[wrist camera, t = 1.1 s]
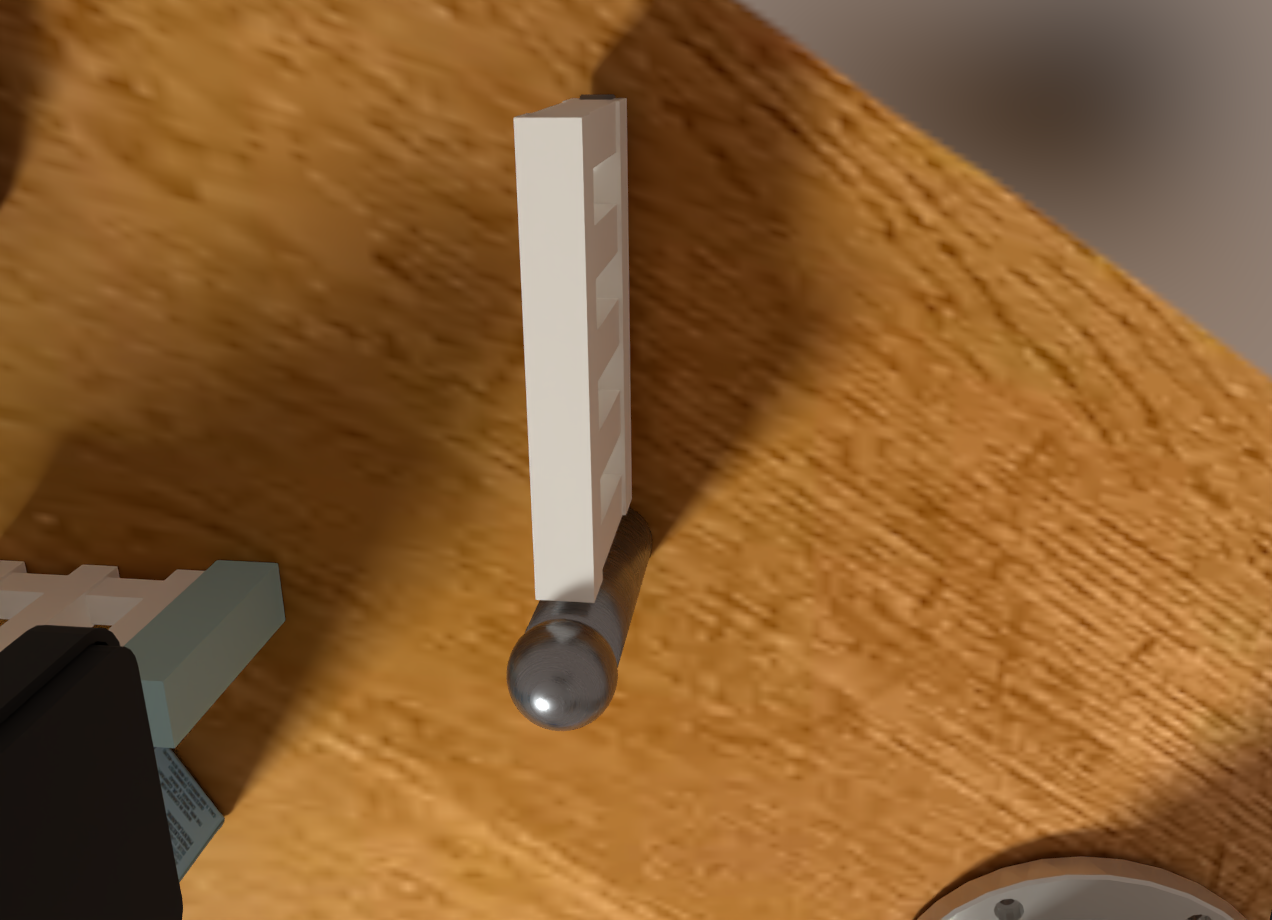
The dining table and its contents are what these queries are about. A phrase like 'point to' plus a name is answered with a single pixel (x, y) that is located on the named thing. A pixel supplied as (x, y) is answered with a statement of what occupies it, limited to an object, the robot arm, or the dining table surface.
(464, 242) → the dining table surface
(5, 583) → the fence panel
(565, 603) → the hinge post
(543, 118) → the gate
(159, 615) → the block
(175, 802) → the gum box
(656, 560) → the dining table surface
